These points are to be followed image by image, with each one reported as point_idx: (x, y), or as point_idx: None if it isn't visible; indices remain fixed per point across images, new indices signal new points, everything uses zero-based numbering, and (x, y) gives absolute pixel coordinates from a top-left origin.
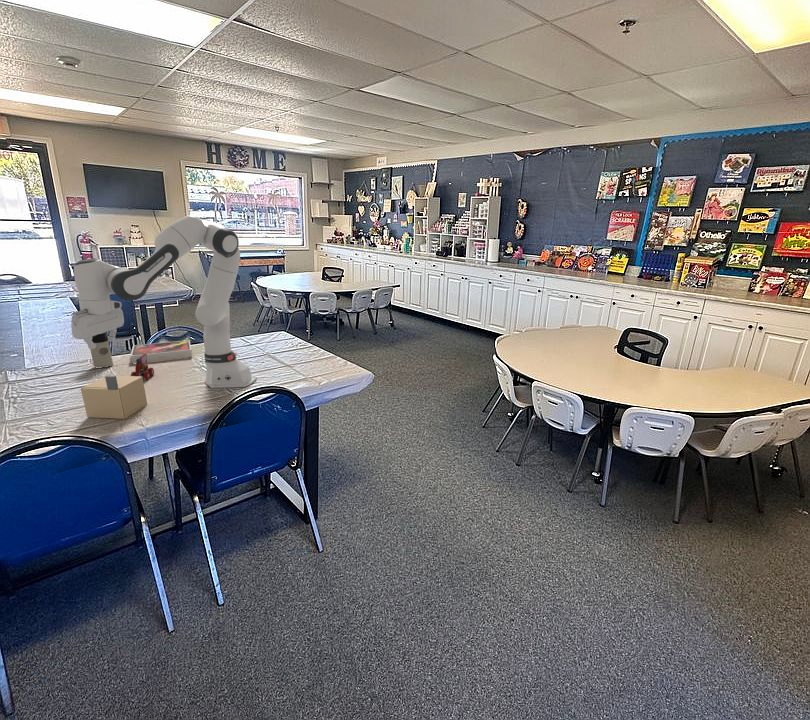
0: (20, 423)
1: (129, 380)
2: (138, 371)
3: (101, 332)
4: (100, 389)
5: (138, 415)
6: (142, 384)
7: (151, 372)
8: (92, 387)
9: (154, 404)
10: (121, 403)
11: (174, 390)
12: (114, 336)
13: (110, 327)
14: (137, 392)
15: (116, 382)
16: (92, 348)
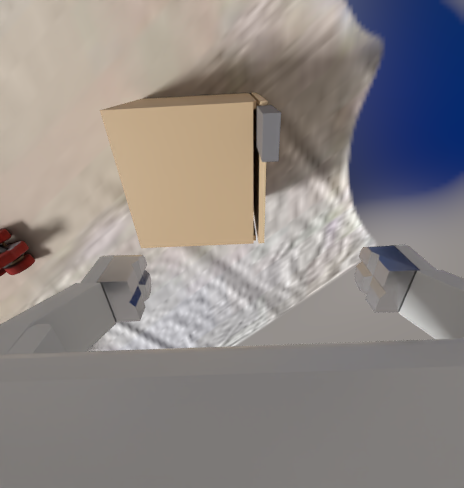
0: (288, 292)
1: (160, 133)
2: (6, 254)
3: (367, 350)
4: (265, 177)
5: (222, 63)
6: (121, 106)
7: None
8: (252, 215)
9: (133, 71)
10: (255, 96)
11: (9, 85)
12: (91, 280)
13: (104, 398)
14: (164, 101)
15: (263, 109)
16: (402, 249)
